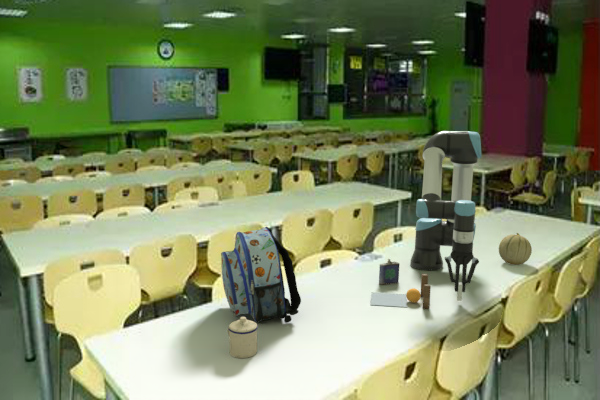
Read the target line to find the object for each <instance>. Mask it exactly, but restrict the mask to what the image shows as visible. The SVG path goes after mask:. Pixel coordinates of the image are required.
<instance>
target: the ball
mask: <svg viewBox="0 0 600 400" xmlns="http://www.w3.org/2000/svg"><path fill="white" fill-rule="evenodd" d="M405 294H406V298H407V301H409V302H410V303H417V302H419V301H420V300H421V298H422V297H421V291H420V290H419V289H417V288H413V287H412V288H409V289H408V290H407V292H406V293H405Z"/></svg>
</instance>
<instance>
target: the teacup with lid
mask: <svg viewBox="0 0 600 400" xmlns="http://www.w3.org/2000/svg"><path fill="white" fill-rule="evenodd" d="M227 335H228V337H229V339H228V340H229V354H230V355H231V356H232V357H233V358H236V359H247V358H251V357H254V356H255V355H256V354H257V352H258V323H256V322H255V320H254V321H253V320H250V319H247V317H246V316H240V317H239V319H237V320H234V321H232V322H231V323H230V324H229V325H228V327H227Z"/></svg>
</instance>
